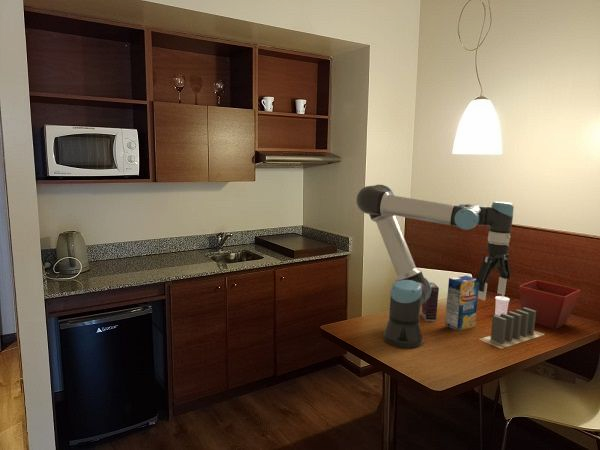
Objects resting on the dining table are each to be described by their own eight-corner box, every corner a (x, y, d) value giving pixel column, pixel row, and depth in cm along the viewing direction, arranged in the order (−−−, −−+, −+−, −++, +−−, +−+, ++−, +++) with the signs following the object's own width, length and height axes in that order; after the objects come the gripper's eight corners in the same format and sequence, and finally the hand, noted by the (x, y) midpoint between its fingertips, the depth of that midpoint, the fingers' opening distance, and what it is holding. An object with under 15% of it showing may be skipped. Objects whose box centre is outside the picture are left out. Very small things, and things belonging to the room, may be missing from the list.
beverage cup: (491, 316, 207) (494, 287, 205) (496, 313, 211) (499, 285, 209) (504, 319, 203) (507, 290, 200) (509, 316, 207) (512, 288, 205)
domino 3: (517, 339, 178) (519, 315, 176) (505, 334, 182) (508, 311, 180) (519, 338, 179) (522, 315, 177) (508, 334, 183) (510, 311, 181)
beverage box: (444, 327, 191) (448, 278, 188) (462, 323, 196) (466, 275, 193) (456, 332, 185) (461, 282, 182) (474, 328, 190) (479, 279, 187)
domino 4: (524, 337, 180) (526, 313, 179) (513, 332, 185) (515, 309, 183) (526, 336, 181) (529, 313, 180) (515, 332, 185) (517, 309, 184)
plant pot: (576, 325, 199) (581, 289, 196) (559, 335, 187) (564, 296, 184) (532, 313, 213) (536, 279, 211) (514, 321, 201) (518, 285, 198)
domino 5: (531, 334, 183) (534, 311, 181) (520, 330, 187) (522, 307, 186) (533, 333, 184) (536, 311, 182) (522, 329, 188) (524, 307, 186)
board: (500, 351, 169) (500, 348, 168) (478, 341, 177) (478, 338, 177) (544, 336, 184) (545, 334, 184) (522, 328, 192) (522, 326, 192)
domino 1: (501, 344, 173) (504, 319, 171) (490, 339, 177) (492, 315, 175) (504, 343, 173) (506, 319, 172) (493, 338, 178) (495, 315, 176)
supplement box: (436, 321, 197) (439, 287, 195) (425, 321, 197) (428, 287, 195) (431, 315, 206) (433, 282, 203) (420, 314, 206) (423, 281, 203)
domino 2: (509, 341, 175) (512, 317, 174) (498, 337, 179) (500, 313, 178) (511, 340, 176) (514, 317, 175) (500, 336, 180) (503, 313, 179)
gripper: (489, 247, 156) (482, 304, 159) (524, 242, 171) (517, 294, 174) (470, 243, 162) (463, 298, 165) (506, 238, 177) (499, 289, 180)
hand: (491, 296), depth 170 cm, fingers open, 13 cm apart
